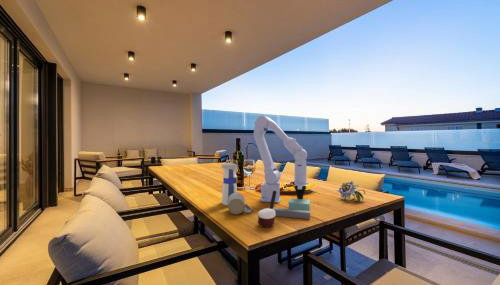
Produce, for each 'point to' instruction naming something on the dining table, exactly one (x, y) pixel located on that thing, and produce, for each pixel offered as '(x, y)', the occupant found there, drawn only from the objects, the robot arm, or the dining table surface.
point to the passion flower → (350, 191)
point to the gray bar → (292, 213)
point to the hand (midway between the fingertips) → (300, 200)
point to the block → (299, 204)
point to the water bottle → (229, 181)
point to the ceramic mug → (237, 204)
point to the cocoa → (267, 214)
